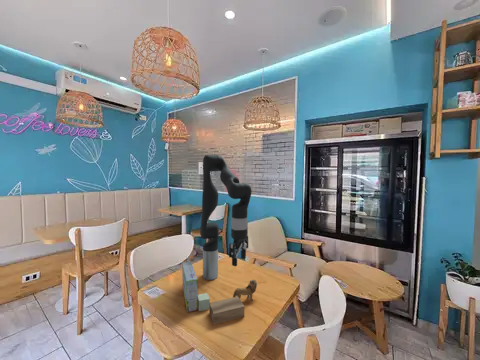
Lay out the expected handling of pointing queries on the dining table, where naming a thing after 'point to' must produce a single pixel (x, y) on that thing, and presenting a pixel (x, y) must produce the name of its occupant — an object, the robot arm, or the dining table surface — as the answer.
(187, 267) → the snack box
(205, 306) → the sage cube
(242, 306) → the taupe rectangular block
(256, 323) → the dining table surface
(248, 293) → the lion figurine
